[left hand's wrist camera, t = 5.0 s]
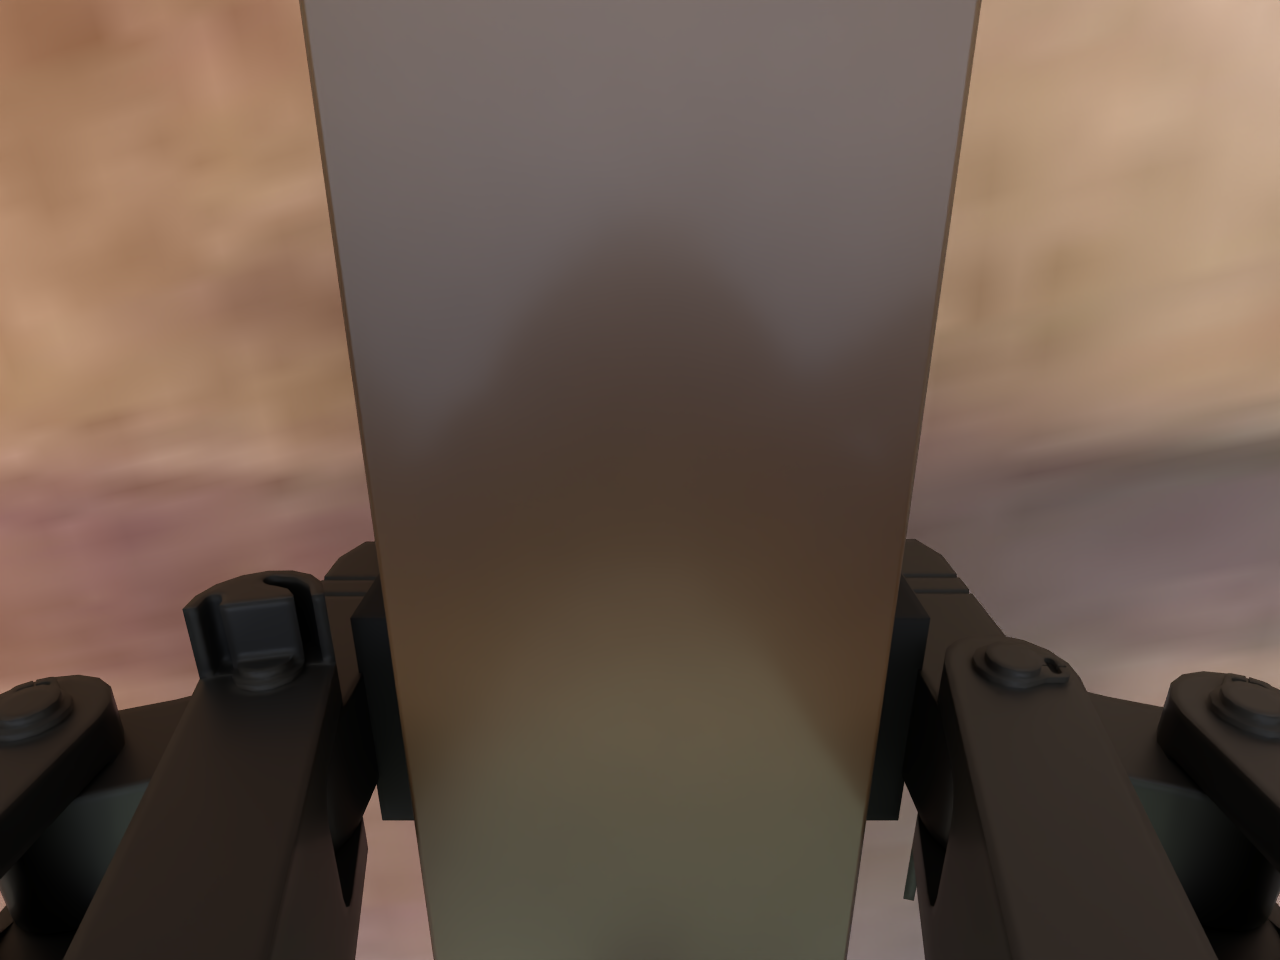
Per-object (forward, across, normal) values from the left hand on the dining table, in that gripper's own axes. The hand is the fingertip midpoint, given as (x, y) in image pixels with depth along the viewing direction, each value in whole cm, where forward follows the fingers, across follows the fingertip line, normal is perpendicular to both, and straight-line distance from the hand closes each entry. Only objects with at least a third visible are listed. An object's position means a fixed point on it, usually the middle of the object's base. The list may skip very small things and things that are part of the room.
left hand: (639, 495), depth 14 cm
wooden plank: (+1, 0, -22) cm, 22 cm away
